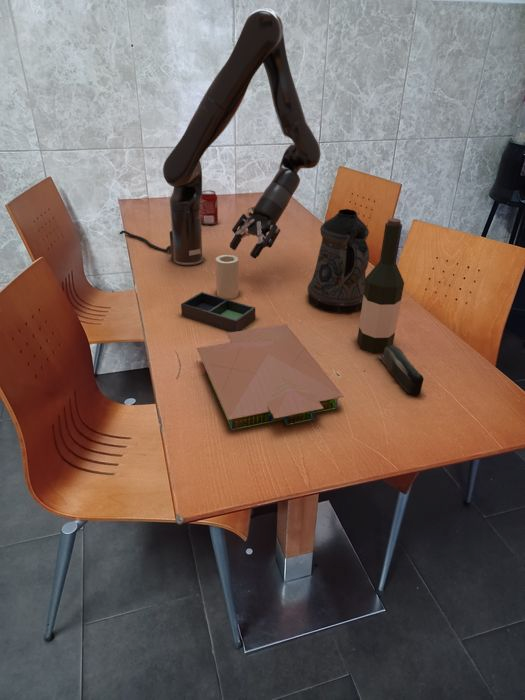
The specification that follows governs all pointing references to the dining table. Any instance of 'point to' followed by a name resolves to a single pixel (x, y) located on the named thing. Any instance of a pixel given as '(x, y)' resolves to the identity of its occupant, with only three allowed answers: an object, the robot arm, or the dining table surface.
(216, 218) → the soda can
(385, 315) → the wine bottle
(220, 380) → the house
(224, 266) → the jar
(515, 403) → the dining table surface
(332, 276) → the beer stein
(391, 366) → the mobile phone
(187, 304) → the tray
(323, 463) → the dining table surface
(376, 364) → the dining table surface
